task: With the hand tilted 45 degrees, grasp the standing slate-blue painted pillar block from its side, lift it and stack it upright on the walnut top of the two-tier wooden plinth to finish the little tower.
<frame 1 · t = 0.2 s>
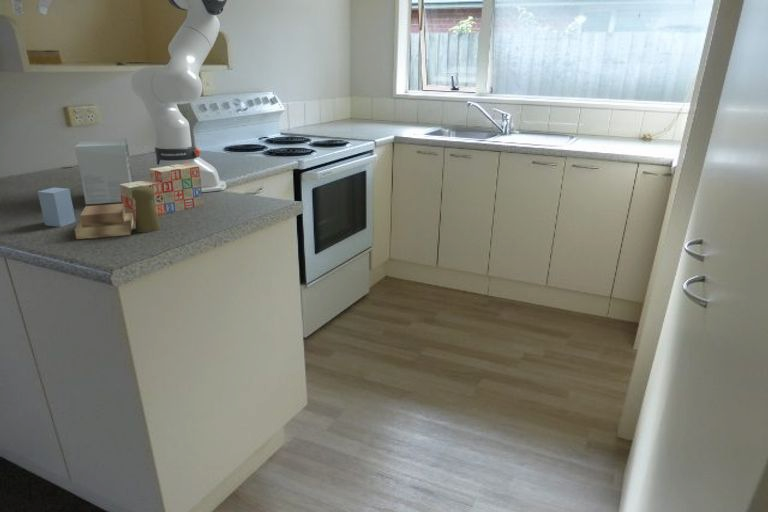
hand: (29, 13, 128), 51 cm above the worktop, tool tilted 20°, fingers open, 8 cm apart
plinth: (106, 229, 134), on the worktop
supplement box: (111, 198, 164), on the worktop
stack of blocks: (165, 211, 152), on the worktop
pillar: (60, 223, 139), on the worktop
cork: (148, 229, 136), on the worktop
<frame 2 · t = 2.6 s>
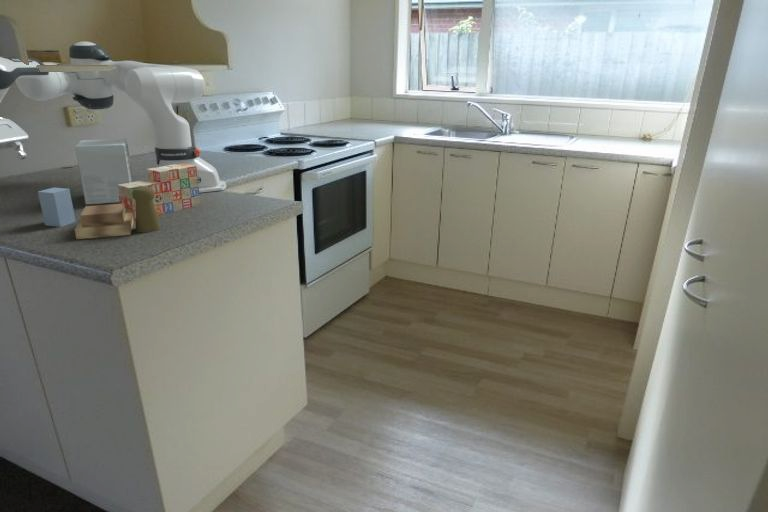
hand: (8, 161, 137), 16 cm above the worktop, tool tilted 45°, fingers open, 8 cm apart
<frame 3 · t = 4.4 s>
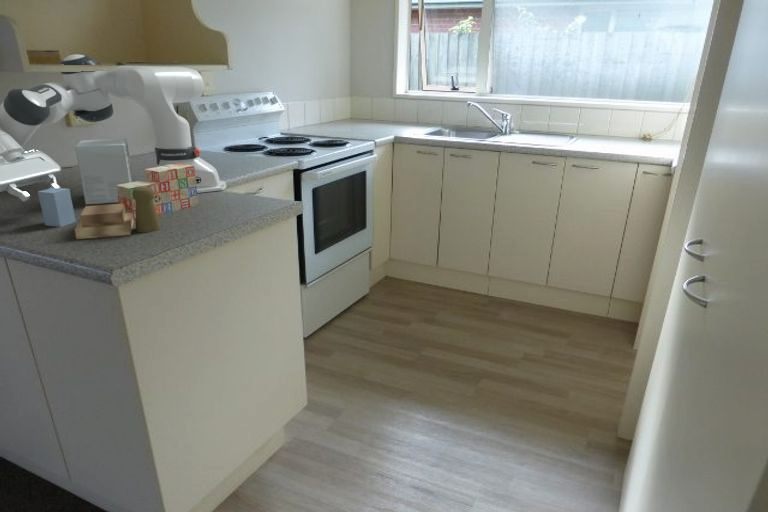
hand: (42, 194, 137), 8 cm above the worktop, tool tilted 45°, fingers open, 8 cm apart
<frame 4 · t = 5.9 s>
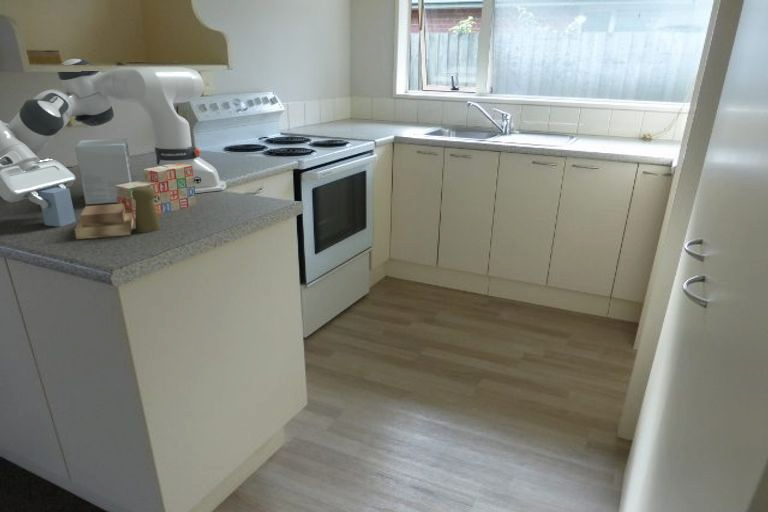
hand: (58, 203, 137), 5 cm above the worktop, tool tilted 45°, fingers closed on pillar, 5 cm apart
pillar: (60, 223, 139), on the worktop, touching gripper
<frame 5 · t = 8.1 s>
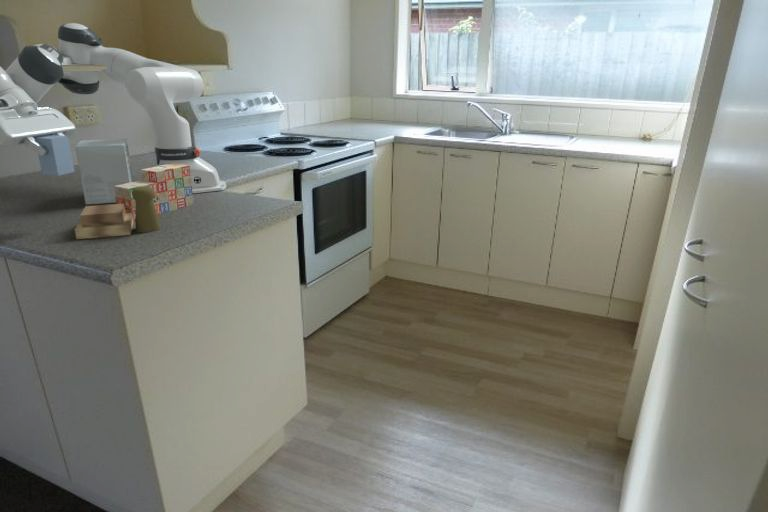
hand: (56, 151, 130), 19 cm above the worktop, tool tilted 45°, fingers closed on pillar, 5 cm apart
pillar: (58, 173, 132), point 14 cm above the worktop, touching gripper
when the fingers open (12 cm above the worktop, at t = 10.6 s): pillar drops 1 cm, resting on plinth.
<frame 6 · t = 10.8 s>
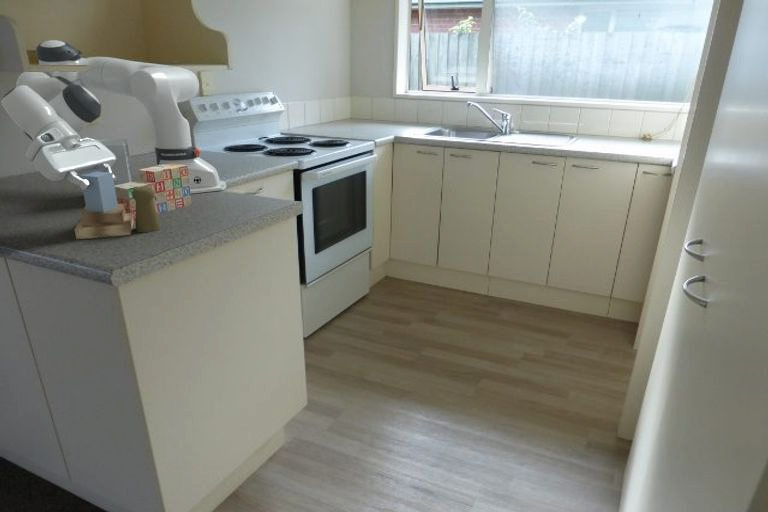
hand: (100, 184, 130), 12 cm above the worktop, tool tilted 45°, fingers open, 7 cm apart
pillar: (102, 209, 132), point 6 cm above the worktop, touching plinth
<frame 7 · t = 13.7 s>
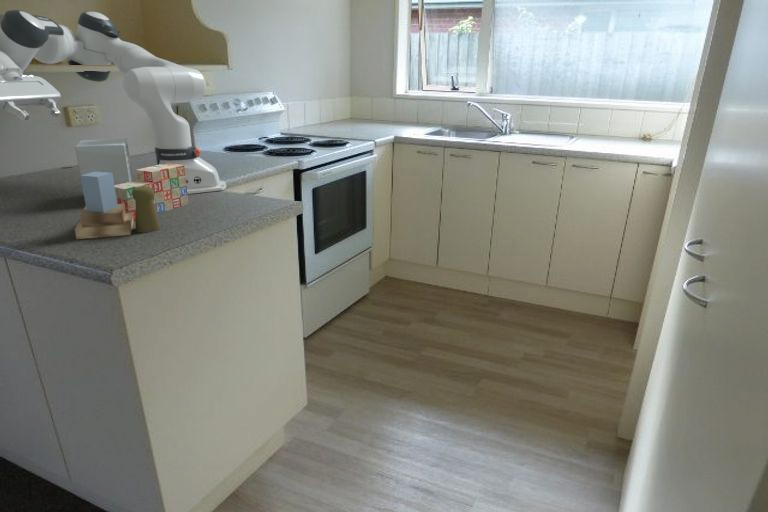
hand: (42, 116, 132), 27 cm above the worktop, tool tilted 45°, fingers open, 8 cm apart
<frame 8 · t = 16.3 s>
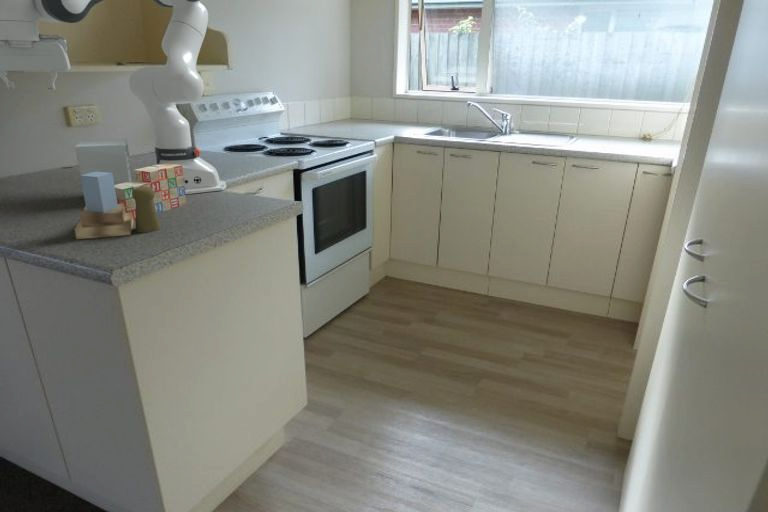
hand: (31, 89, 142), 33 cm above the worktop, tool pointing down, fingers open, 8 cm apart
at the end: pillar inside the target area on the plinth (0.1 cm from its centre), point 5.5 cm above the plinth's base; pillar tilted 0°; the gripper is holding nothing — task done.
